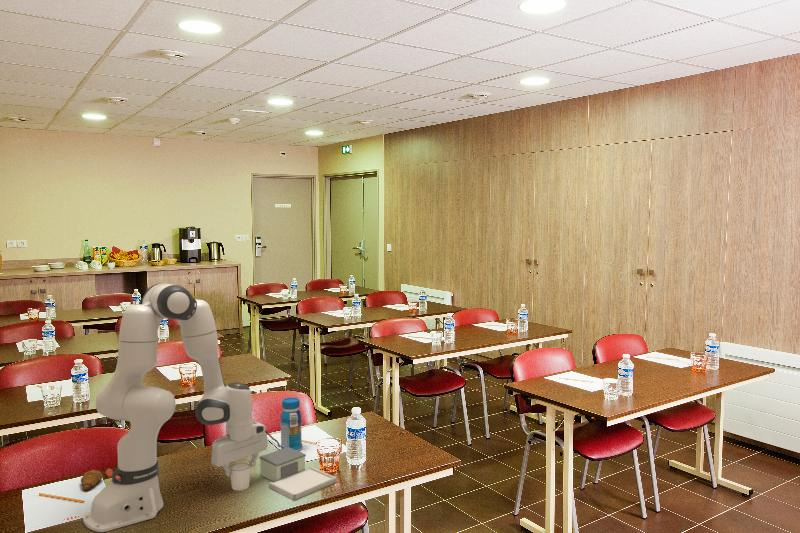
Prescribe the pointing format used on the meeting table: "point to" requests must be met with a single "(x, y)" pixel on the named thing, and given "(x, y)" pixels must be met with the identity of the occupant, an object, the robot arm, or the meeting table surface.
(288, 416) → the beverage bottle
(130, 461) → the robot arm
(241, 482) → the white cup
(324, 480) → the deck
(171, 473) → the meeting table surface
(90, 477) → the croissant
